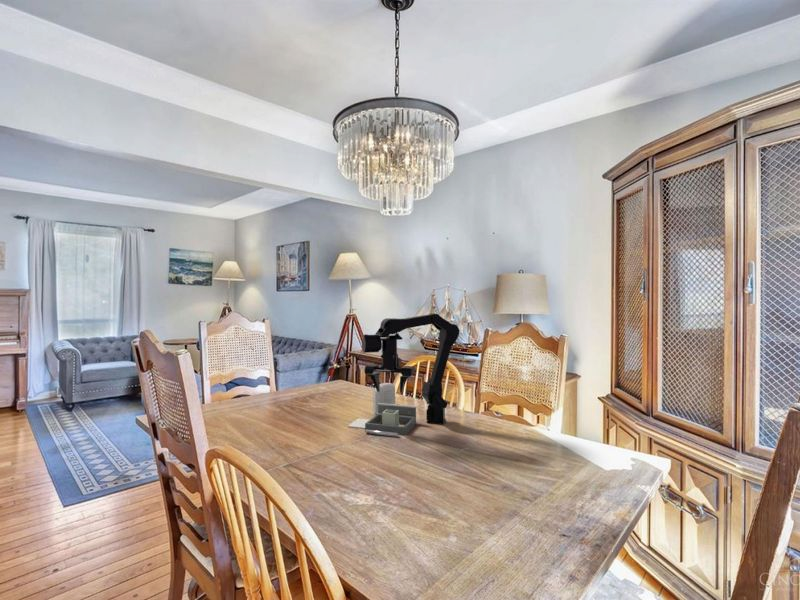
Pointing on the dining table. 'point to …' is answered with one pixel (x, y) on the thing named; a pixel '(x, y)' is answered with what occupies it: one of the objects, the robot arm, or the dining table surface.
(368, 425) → the case base
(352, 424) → the pad
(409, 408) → the case lid open
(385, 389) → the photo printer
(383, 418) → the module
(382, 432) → the rod
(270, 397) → the dining table surface
